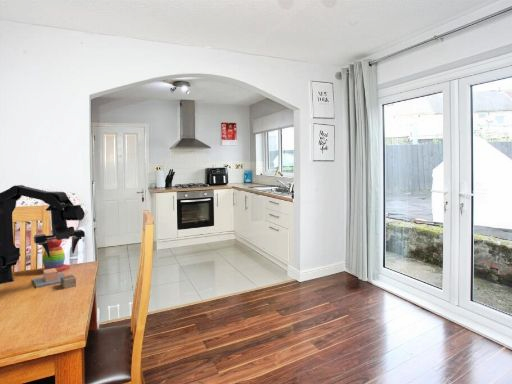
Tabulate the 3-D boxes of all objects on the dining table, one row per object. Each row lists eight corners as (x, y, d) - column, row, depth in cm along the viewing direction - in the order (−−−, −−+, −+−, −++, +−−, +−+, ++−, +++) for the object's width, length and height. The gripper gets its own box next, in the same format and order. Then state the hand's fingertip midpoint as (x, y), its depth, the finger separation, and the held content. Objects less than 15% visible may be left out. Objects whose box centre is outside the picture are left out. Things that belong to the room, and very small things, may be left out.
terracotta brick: (43, 278, 145) (43, 269, 144) (55, 276, 148) (54, 268, 147) (45, 282, 140) (45, 273, 140) (57, 279, 143) (57, 271, 143)
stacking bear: (71, 267, 163) (70, 233, 162) (57, 274, 153) (56, 238, 152) (52, 266, 164) (51, 233, 163) (37, 273, 154) (35, 237, 153)
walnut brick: (60, 285, 139) (60, 276, 139) (72, 283, 142) (71, 274, 142) (64, 289, 135) (64, 280, 135) (76, 286, 138) (75, 277, 138)
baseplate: (33, 280, 145) (33, 278, 145) (63, 274, 152) (63, 273, 152) (36, 287, 136) (36, 286, 136) (68, 281, 143) (68, 279, 143)
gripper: (36, 225, 127) (38, 263, 128) (87, 219, 139) (89, 254, 140) (32, 222, 135) (34, 258, 136) (80, 217, 147) (82, 250, 149)
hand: (61, 255), depth 140 cm, fingers open, 9 cm apart
